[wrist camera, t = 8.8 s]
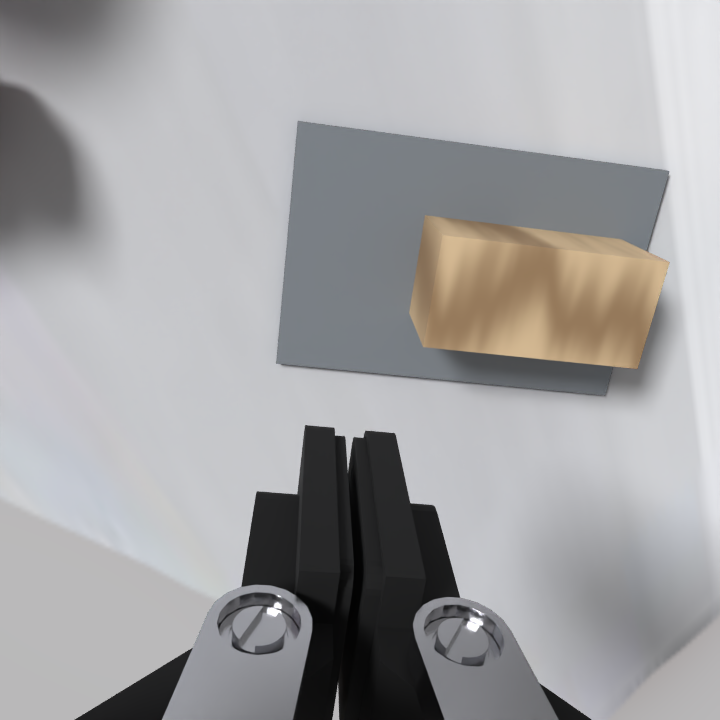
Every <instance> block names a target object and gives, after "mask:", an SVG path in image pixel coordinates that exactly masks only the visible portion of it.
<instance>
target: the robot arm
mask: <svg viewBox="0 0 720 720" xmlns="http://www.w3.org/2000/svg"><path fill="white" fill-rule="evenodd" d="M337 685H338V688H339V719H340V720H591V719H590V718H588V717H587V716H586V715H584V714H583V713H581V712H580V711H578V710H577V709H575V708H574V707H573V706H571V705H570V704H568V703H567V702H565V701H564V700H563V699H561V698H560V697H558V696H557V695H555V694H554V693H552V692H551V691H550V690H548V689H547V688H545V687H544V686H542V685H541V684H540V683H539V682H538V680H537V678H536V676H535V675H534V673H533V671H532V669H531V667H530V665H529V663H528V661H527V660H526V658H525V656H524V654H523V652H522V650H521V648H520V646H519V645H518V643H517V641H516V639H515V637H514V635H513V633H512V631H511V630H510V629H509V627H508V626H507V624H506V623H505V622H504V620H503V619H502V618H501V617H499V616H498V615H497V614H496V613H494V612H493V611H492V610H491V609H489V608H487V607H485V606H483V605H481V604H479V603H477V602H474V601H471V600H467V599H464V598H460V596H459V592H458V588H457V585H456V581H455V577H454V573H453V570H452V566H451V562H450V559H449V555H448V551H447V548H446V544H445V540H444V537H443V533H442V529H441V525H440V522H439V518H438V514H437V511H436V509H435V507H434V506H433V505H424V504H411V503H410V500H409V496H408V491H407V486H406V482H405V477H404V472H403V467H402V463H401V458H400V453H399V449H398V444H397V439H396V435H395V433H386V432H375V431H365V434H364V438H356V437H354V438H353V442H352V449H351V456H350V463H349V470H347V455H346V440H345V436H335V429H334V428H330V427H319V426H307V425H305V431H304V439H303V448H302V457H301V467H300V476H299V485H298V494H297V495H296V494H283V493H270V492H258V491H257V493H256V498H255V505H254V511H253V517H252V523H251V530H250V536H249V542H248V549H247V555H246V561H245V568H244V574H243V580H242V586H241V587H240V588H237V589H235V590H232V591H230V592H228V593H226V594H225V595H223V596H222V597H221V598H219V599H218V600H217V601H215V603H214V604H213V606H212V607H211V609H210V610H209V612H208V614H207V616H206V618H205V621H204V623H203V625H202V628H201V630H200V632H199V635H198V637H197V639H196V642H195V644H194V646H193V648H192V649H190V650H188V651H187V652H185V653H183V654H182V655H180V656H178V657H177V658H175V659H174V660H172V661H170V662H169V663H167V664H165V665H164V666H162V667H161V668H159V669H157V670H156V671H154V672H152V673H151V674H149V675H147V676H146V677H144V678H142V679H141V680H139V681H137V682H136V683H134V684H133V685H131V686H129V687H128V688H126V689H124V690H123V691H121V692H119V693H118V694H116V695H115V696H113V697H111V698H110V699H108V700H107V701H105V702H103V703H101V704H100V705H98V706H97V707H95V708H93V709H92V710H90V711H88V712H87V713H85V714H83V715H82V716H80V717H78V718H77V719H75V720H332V717H333V711H334V704H335V698H336V692H337Z"/></svg>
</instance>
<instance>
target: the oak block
mask: <svg viewBox="0 0 720 720" xmlns="http://www.w3.org/2000/svg"><path fill="white" fill-rule="evenodd" d="M669 263H670V262H668V261H666V260H664V259H662V258H660V257H658V256H655V255H653V254H651V253H649V252H647V251H645V250H643V249H641V248H638V247H636V246H634V245H632V244H630V243H628V242H626V241H624V240H622V239H615V238H607V237H599V236H591V235H583V234H575V233H566V232H558V231H550V230H542V229H534V228H525V227H517V226H509V225H501V224H493V223H484V222H476V221H468V220H460V219H452V218H444V217H435V216H427V215H425V218H424V225H423V231H422V237H421V243H420V249H419V255H418V262H417V268H416V274H415V280H414V286H413V292H412V299H411V305H410V311H409V314H410V316H411V319H412V321H413V324H414V326H415V328H416V331H417V333H418V336H419V338H420V341H421V343H422V345H423V347H427V348H437V349H447V350H457V351H467V352H476V353H486V354H496V355H506V356H515V357H525V358H535V359H545V360H555V361H564V362H574V363H584V364H594V365H604V366H613V367H623V368H633V369H638V365H639V362H640V359H641V355H642V352H643V349H644V345H645V342H646V339H647V336H648V332H649V329H650V326H651V322H652V319H653V316H654V312H655V309H656V306H657V302H658V299H659V296H660V292H661V289H662V286H663V282H664V279H665V276H666V273H667V269H668V266H669Z"/></svg>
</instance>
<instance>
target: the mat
mask: <svg viewBox="0 0 720 720" xmlns="http://www.w3.org/2000/svg"><path fill="white" fill-rule="evenodd" d="M668 174H669V171H667V170H660V169H652V168H645V167H637V166H630V165H622V164H615V163H607V162H600V161H592V160H585V159H577V158H570V157H562V156H555V155H547V154H540V153H533V152H525V151H518V150H510V149H503V148H495V147H488V146H480V145H473V144H465V143H458V142H450V141H443V140H435V139H428V138H420V137H413V136H405V135H398V134H390V133H383V132H375V131H368V130H360V129H353V128H345V127H338V126H330V125H323V124H315V123H308V122H301V121H298V125H297V136H296V147H295V159H294V170H293V181H292V192H291V204H290V215H289V226H288V237H287V249H286V260H285V271H284V282H283V294H282V305H281V316H280V327H279V339H278V350H277V361H276V364H286V365H297V366H307V367H317V368H327V369H338V370H348V371H358V372H368V373H379V374H389V375H399V376H409V377H420V378H430V379H440V380H451V381H461V382H471V383H481V384H492V385H502V386H512V387H522V388H533V389H543V390H553V391H563V392H574V393H584V394H594V395H605V394H606V390H607V387H608V383H609V380H610V376H611V373H612V369H613V366H604V365H594V364H584V363H574V362H564V361H555V360H545V359H535V358H525V357H515V356H506V355H496V354H486V353H476V352H467V351H457V350H447V349H437V348H427V347H423V345H422V343H421V341H420V338H419V336H418V333H417V331H416V328H415V326H414V324H413V321H412V319H411V316H410V314H409V311H410V305H411V299H412V292H413V286H414V280H415V274H416V268H417V262H418V255H419V249H420V243H421V237H422V231H423V225H424V218H425V215H427V216H435V217H444V218H452V219H460V220H468V221H476V222H484V223H493V224H501V225H509V226H517V227H525V228H534V229H542V230H550V231H558V232H566V233H575V234H583V235H591V236H599V237H607V238H615V239H622V240H624V241H626V242H628V243H630V244H632V245H634V246H636V247H638V248H641V249H643V250H645V251H647V248H648V244H649V241H650V237H651V234H652V230H653V227H654V223H655V220H656V216H657V213H658V209H659V206H660V202H661V199H662V195H663V192H664V188H665V185H666V181H667V178H668Z"/></svg>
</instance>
